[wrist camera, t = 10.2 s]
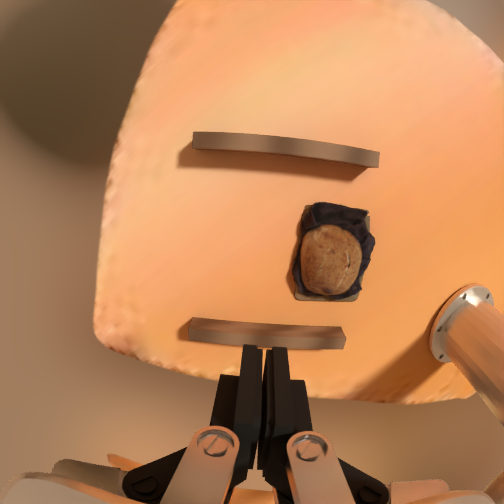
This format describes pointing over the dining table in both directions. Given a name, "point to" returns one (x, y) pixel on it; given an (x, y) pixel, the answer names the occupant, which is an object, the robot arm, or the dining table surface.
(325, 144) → the shelf lane
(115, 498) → the robot arm
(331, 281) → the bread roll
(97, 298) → the dining table surface
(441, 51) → the dining table surface
